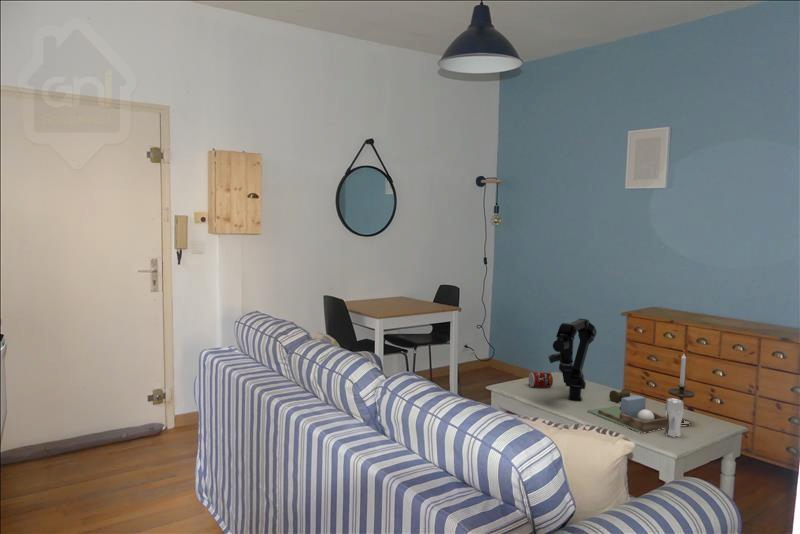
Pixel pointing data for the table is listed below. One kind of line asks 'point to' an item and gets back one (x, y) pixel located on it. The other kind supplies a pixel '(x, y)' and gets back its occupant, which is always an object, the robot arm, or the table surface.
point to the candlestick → (682, 385)
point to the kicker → (632, 405)
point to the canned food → (540, 379)
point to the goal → (630, 419)
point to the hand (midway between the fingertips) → (565, 380)
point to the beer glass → (673, 416)
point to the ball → (645, 415)
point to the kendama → (618, 395)
